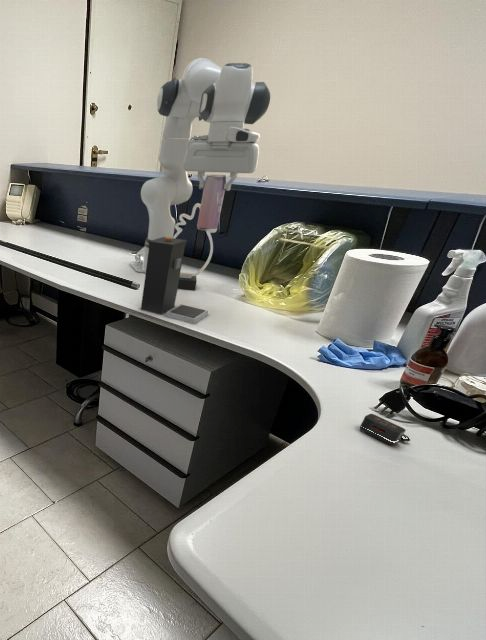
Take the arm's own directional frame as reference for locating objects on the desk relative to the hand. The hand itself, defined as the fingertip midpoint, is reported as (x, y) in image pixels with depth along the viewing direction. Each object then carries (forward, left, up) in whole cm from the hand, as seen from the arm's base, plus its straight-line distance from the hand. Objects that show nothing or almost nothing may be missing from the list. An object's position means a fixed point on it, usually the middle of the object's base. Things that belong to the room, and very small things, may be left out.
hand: (214, 189), depth 120 cm
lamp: (-30, +15, -39) cm, 52 cm away
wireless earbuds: (+71, 0, -39) cm, 81 cm away
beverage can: (0, 0, -11) cm, 11 cm away
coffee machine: (-3, -5, -39) cm, 39 cm away
